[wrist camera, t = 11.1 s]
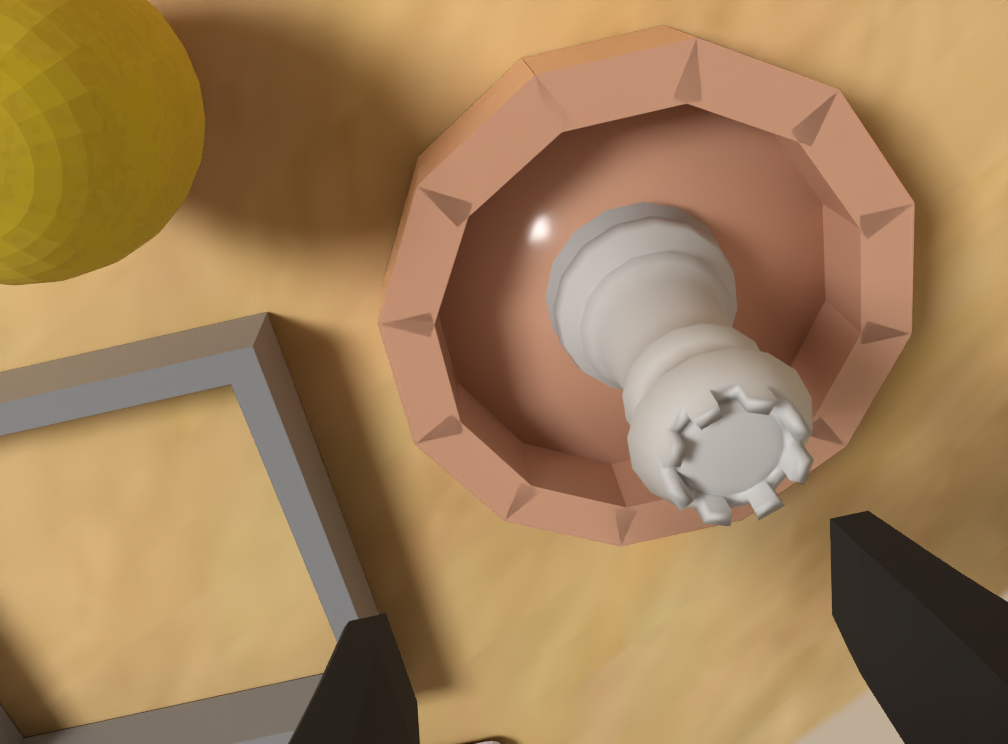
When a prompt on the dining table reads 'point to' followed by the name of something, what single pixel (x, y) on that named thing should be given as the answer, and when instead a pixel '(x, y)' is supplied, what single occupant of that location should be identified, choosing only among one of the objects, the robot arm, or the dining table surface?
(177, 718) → the grey square frame
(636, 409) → the rook chess piece
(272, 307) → the dining table surface
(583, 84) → the bowl
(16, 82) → the lemon
